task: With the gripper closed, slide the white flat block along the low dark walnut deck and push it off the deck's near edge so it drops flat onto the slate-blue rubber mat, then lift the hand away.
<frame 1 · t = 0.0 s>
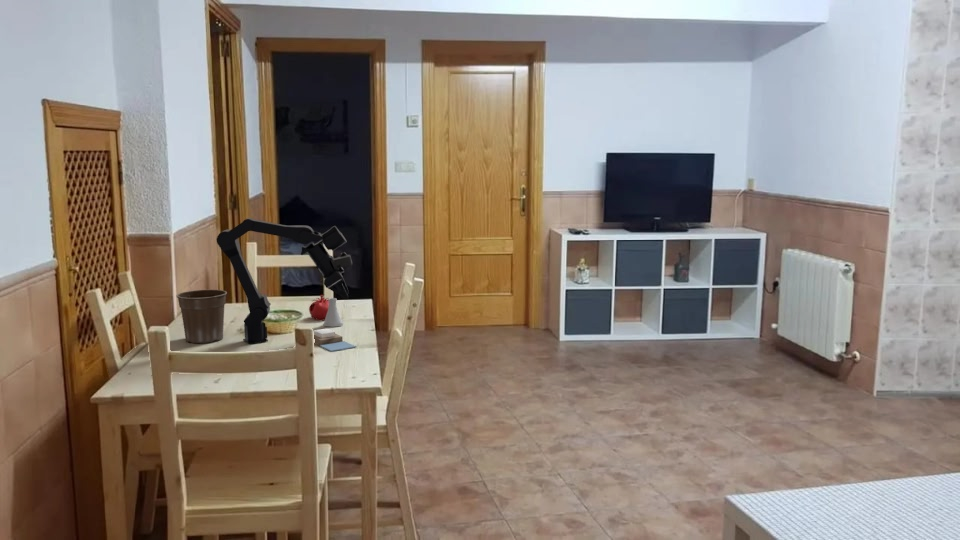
hand: (347, 295, 261), 15 cm above the table, tool tilted 35°, fingers open, 9 cm apart
deck: (325, 341, 259), on the table
flask: (333, 325, 283), on the table
pomegranate: (322, 318, 294), on the table
plant pot: (204, 340, 261), on the table
mat: (337, 347, 252), on the table
white flat block: (324, 335, 259), point 2 cm above the table, touching deck
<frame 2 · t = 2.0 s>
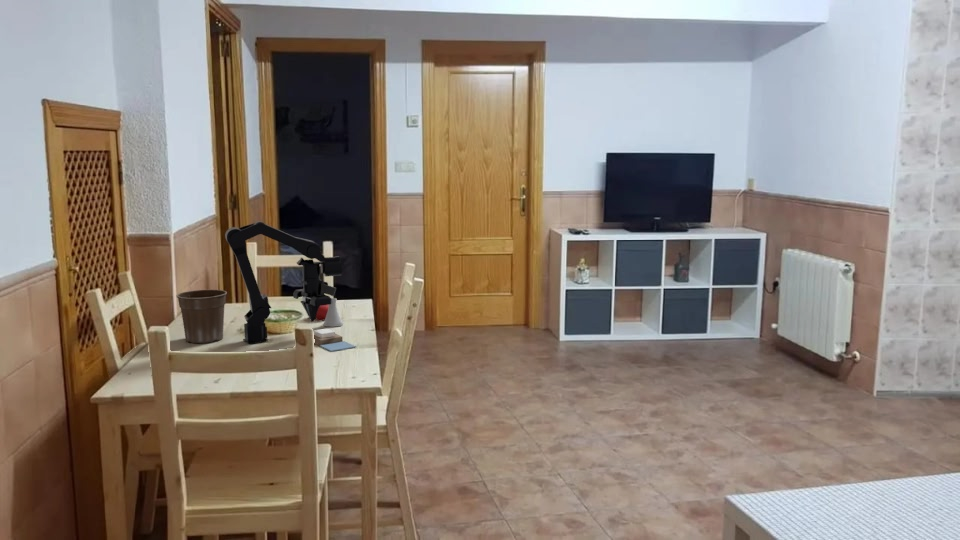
hand: (312, 321, 265), 5 cm above the table, tool pointing down, fingers closed
nothing on the table moved.
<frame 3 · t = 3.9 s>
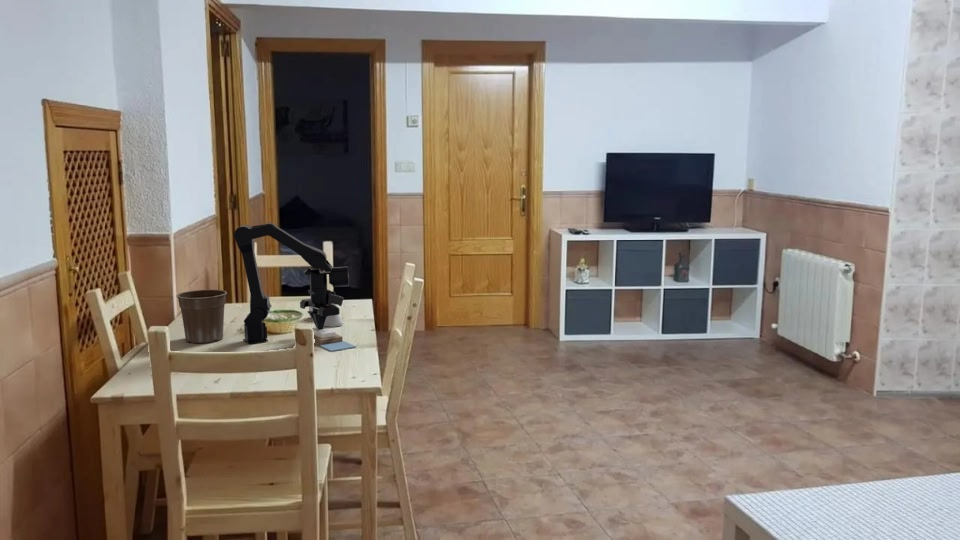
hand: (320, 331, 262), 3 cm above the table, tool pointing down, fingers closed
white flat block: (324, 335, 259), point 2 cm above the table, touching gripper
everything else where it was.
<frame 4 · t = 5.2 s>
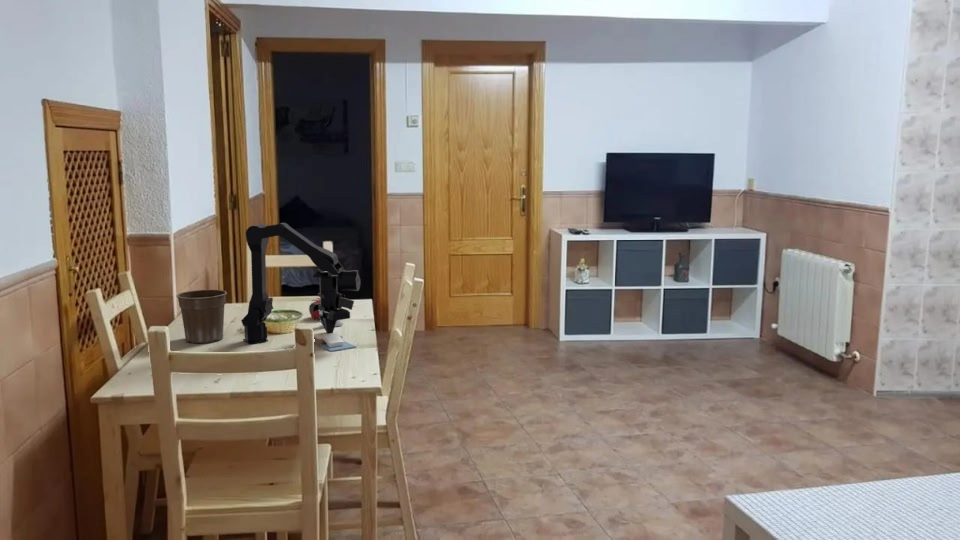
hand: (330, 335, 256), 3 cm above the table, tool pointing down, fingers closed
white flat block: (333, 341, 253), point 1 cm above the table, tilted 18°, touching gripper, mat
everything else where it was.
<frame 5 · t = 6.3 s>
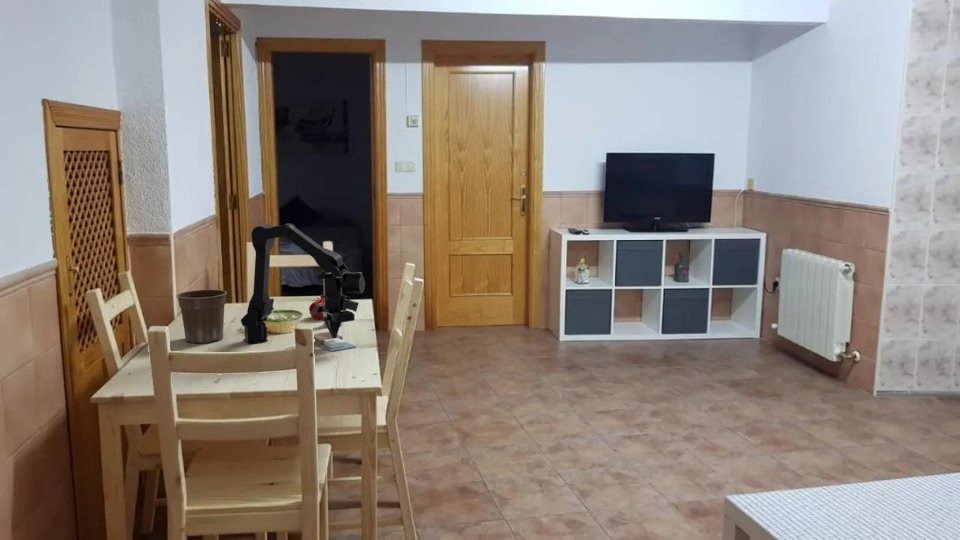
hand: (334, 338, 253), 3 cm above the table, tool pointing down, fingers closed
white flat block: (334, 345, 252), resting on mat
everything else where it was.
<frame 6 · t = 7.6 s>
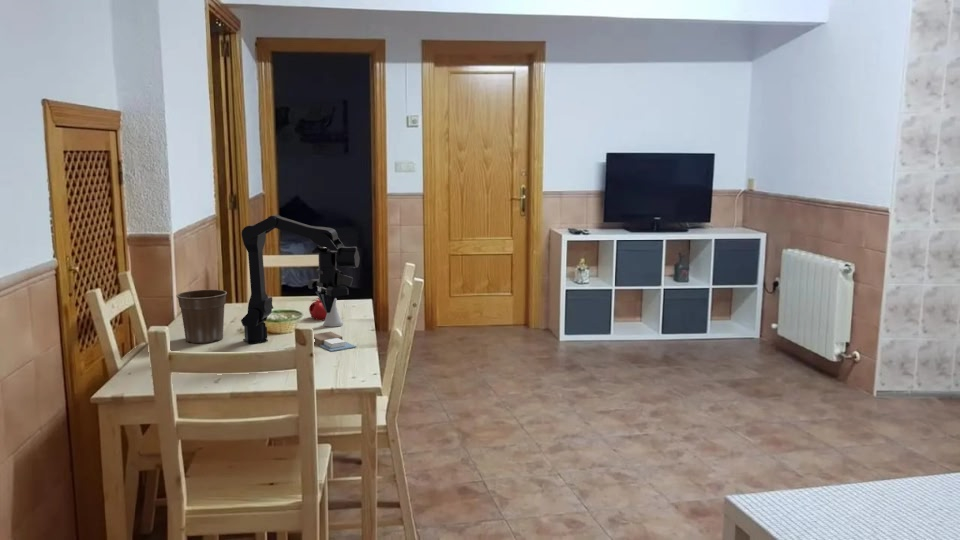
hand: (328, 312, 253), 11 cm above the table, tool pointing down, fingers closed
nothing on the table moved.
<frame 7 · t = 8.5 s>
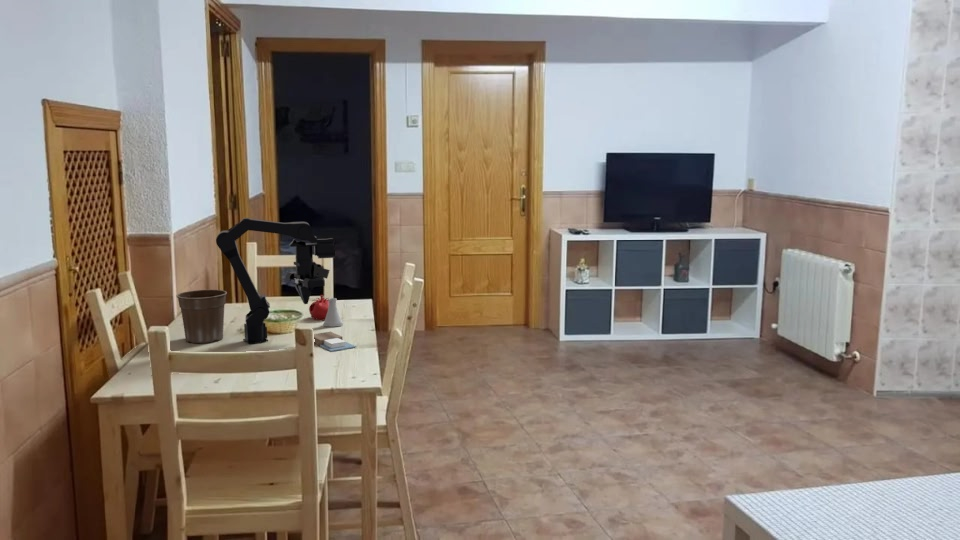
hand: (305, 303, 262), 12 cm above the table, tool pointing down, fingers closed
nothing on the table moved.
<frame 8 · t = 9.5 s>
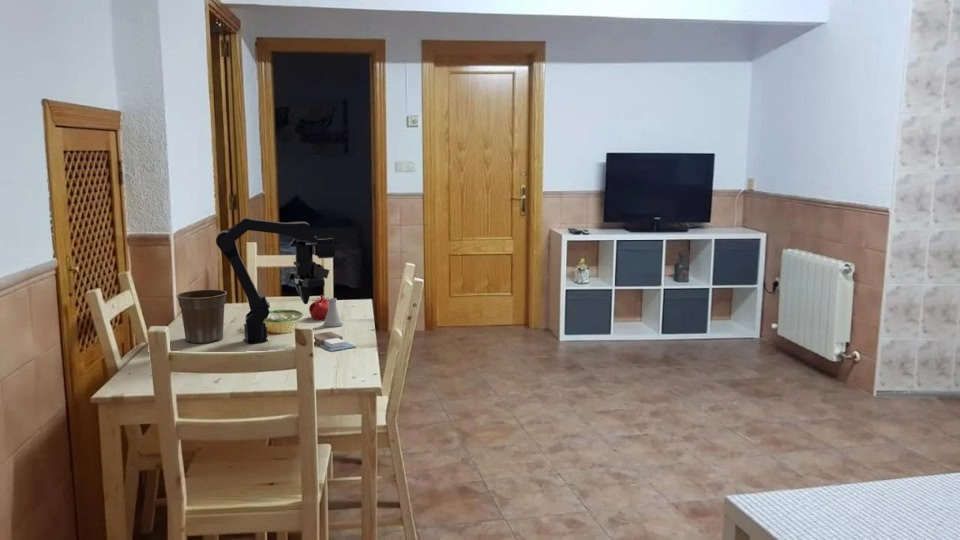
hand: (305, 303, 262), 12 cm above the table, tool pointing down, fingers closed
nothing on the table moved.
at the end: white flat block inside the target area (1.4 cm from its centre), resting on mat; white flat block touching mat; white flat block tilted 0° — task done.
